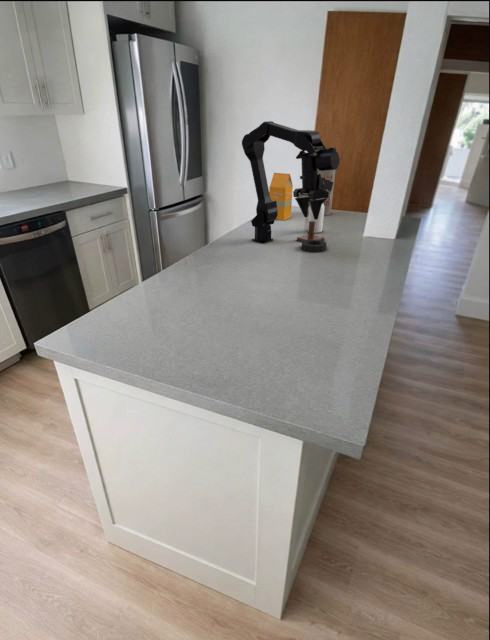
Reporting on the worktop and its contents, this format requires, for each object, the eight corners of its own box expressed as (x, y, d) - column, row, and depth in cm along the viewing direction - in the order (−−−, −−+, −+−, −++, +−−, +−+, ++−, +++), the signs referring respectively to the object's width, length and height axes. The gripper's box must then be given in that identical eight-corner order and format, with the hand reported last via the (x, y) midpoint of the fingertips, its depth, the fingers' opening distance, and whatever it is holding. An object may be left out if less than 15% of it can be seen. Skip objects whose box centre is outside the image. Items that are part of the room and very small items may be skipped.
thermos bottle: (330, 215, 213) (338, 152, 197) (314, 215, 214) (320, 152, 198) (330, 212, 220) (337, 150, 204) (314, 211, 221) (320, 150, 205)
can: (311, 228, 193) (314, 200, 186) (324, 230, 189) (327, 202, 183) (304, 231, 188) (307, 203, 181) (318, 234, 185) (321, 204, 178)
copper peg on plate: (296, 240, 177) (298, 221, 173) (308, 236, 182) (310, 218, 177) (312, 244, 172) (314, 224, 168) (323, 240, 177) (326, 221, 173)
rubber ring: (296, 248, 168) (297, 243, 166) (311, 243, 173) (312, 238, 172) (315, 253, 162) (316, 247, 161) (330, 248, 167) (331, 242, 166)
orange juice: (283, 220, 206) (286, 175, 195) (268, 218, 210) (269, 173, 199) (290, 217, 212) (293, 172, 200) (275, 215, 216) (277, 171, 204)
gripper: (343, 168, 144) (342, 217, 152) (319, 168, 160) (319, 212, 168) (312, 173, 142) (313, 222, 150) (291, 173, 158) (293, 217, 166)
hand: (310, 218), depth 158 cm, fingers open, 9 cm apart
